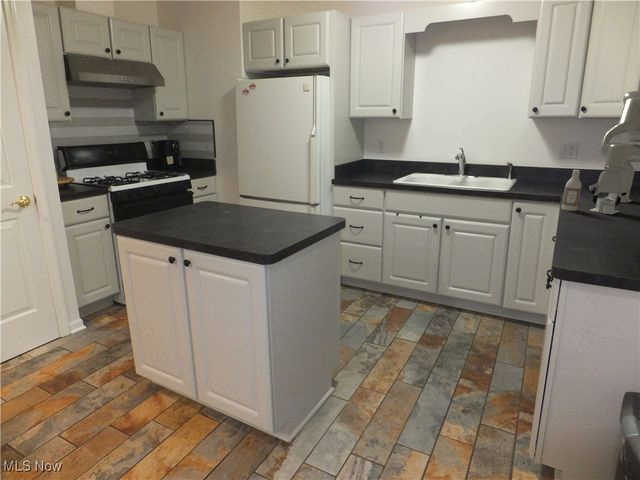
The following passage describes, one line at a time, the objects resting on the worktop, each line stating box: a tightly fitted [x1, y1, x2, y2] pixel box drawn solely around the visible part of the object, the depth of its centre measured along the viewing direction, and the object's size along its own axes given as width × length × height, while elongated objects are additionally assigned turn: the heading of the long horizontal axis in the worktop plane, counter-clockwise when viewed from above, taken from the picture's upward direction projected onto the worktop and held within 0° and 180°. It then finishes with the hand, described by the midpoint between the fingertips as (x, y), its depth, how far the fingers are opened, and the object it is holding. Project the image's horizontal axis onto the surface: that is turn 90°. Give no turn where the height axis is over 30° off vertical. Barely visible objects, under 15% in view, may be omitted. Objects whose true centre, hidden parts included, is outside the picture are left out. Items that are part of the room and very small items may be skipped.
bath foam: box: [561, 169, 582, 212], centre depth 215 cm, size 7×7×20 cm
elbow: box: [595, 197, 616, 215], centre depth 214 cm, size 12×6×6 cm, turn 160°
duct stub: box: [589, 197, 620, 215], centre depth 216 cm, size 10×10×6 cm
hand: (605, 204), depth 216 cm, fingers open, 9 cm apart
